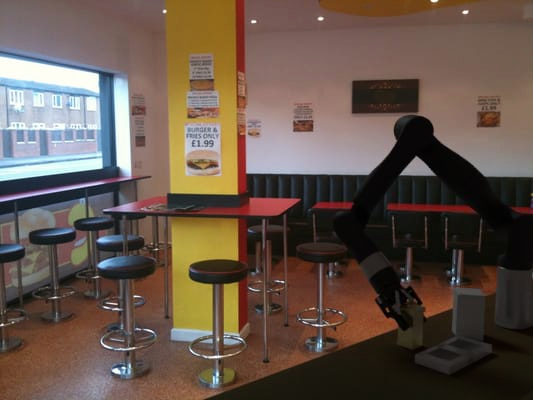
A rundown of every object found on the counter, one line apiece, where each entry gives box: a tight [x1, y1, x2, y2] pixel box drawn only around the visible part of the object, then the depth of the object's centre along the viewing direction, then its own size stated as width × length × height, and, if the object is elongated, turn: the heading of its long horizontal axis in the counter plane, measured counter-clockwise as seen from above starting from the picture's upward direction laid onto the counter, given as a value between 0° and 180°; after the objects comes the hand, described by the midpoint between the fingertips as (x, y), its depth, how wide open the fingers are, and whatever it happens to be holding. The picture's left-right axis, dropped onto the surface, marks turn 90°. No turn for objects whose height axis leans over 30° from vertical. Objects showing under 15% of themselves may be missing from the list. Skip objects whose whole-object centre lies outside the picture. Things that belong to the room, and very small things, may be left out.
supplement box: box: [451, 287, 486, 342], centre depth 150 cm, size 7×7×13 cm
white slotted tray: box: [414, 335, 493, 376], centre depth 133 cm, size 20×9×3 cm, turn 131°
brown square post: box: [396, 303, 427, 351], centre depth 141 cm, size 5×5×11 cm
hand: (415, 326), depth 139 cm, fingers open, 7 cm apart
